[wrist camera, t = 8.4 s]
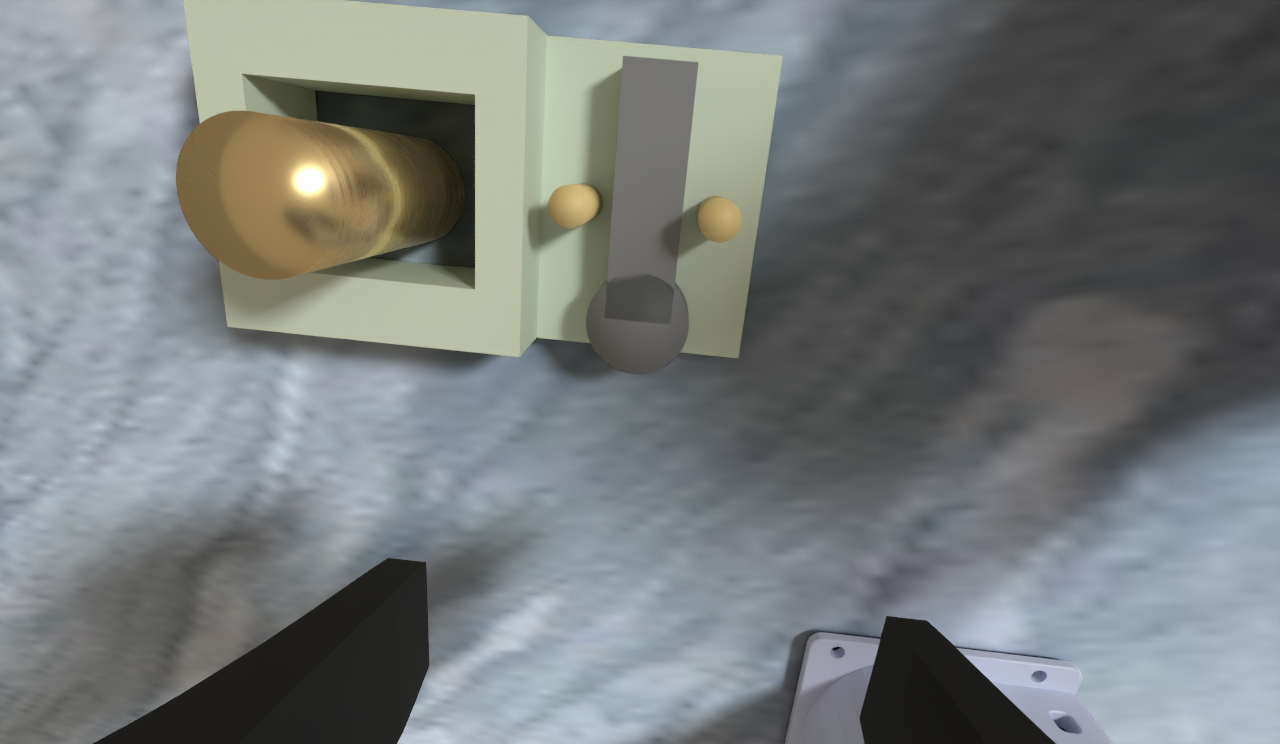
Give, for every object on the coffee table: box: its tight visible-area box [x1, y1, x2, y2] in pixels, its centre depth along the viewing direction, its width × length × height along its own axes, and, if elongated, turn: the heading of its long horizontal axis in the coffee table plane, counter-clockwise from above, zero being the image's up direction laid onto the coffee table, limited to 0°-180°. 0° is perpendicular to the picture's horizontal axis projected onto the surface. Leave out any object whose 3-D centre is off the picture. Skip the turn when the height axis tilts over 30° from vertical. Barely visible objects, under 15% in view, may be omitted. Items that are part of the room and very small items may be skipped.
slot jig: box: [183, 0, 783, 374], centre depth 16 cm, size 14×8×3 cm, turn 85°
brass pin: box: [176, 110, 465, 280], centre depth 14 cm, size 3×3×7 cm
